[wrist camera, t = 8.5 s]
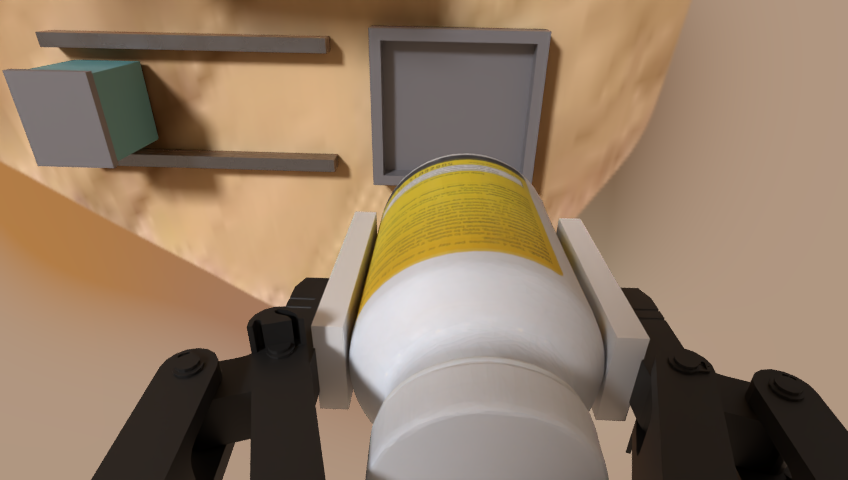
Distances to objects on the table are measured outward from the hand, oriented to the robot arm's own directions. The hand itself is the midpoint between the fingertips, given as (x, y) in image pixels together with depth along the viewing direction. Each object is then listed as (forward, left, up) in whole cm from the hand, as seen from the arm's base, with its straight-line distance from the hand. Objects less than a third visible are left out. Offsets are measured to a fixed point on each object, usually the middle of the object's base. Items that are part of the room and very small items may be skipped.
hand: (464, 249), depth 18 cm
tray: (0, 0, -23) cm, 23 cm away
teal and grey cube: (0, -26, -23) cm, 35 cm away
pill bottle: (0, 0, -2) cm, 2 cm away
